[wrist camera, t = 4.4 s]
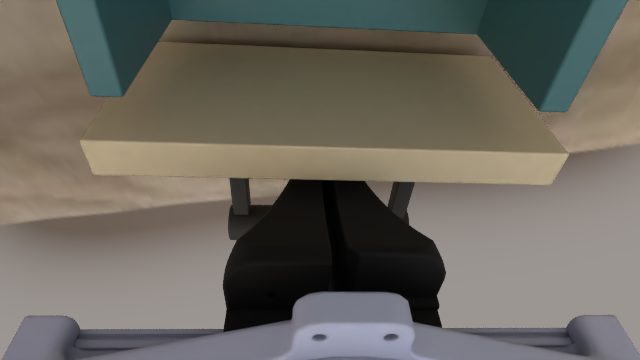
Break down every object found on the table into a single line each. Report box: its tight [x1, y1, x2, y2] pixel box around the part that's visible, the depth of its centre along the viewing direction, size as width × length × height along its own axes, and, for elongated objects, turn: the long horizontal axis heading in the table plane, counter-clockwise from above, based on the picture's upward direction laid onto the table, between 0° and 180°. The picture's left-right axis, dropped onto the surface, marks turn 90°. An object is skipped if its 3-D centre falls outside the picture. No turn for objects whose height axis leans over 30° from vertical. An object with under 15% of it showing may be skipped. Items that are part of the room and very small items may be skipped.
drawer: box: [56, 0, 628, 240], centre depth 11 cm, size 18×13×6 cm
